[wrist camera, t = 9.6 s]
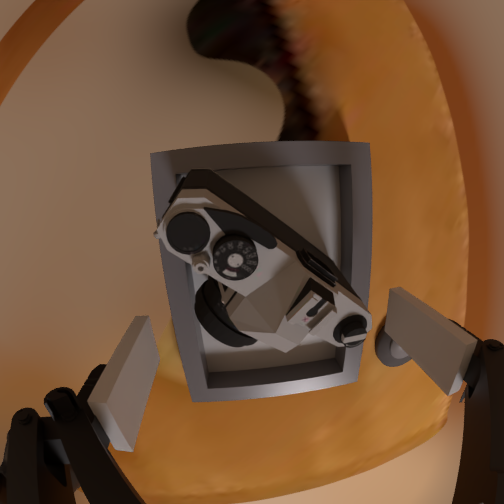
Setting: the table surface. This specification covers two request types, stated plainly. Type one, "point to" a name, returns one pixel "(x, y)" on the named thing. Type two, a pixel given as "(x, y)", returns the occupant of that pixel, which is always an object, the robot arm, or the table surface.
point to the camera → (257, 270)
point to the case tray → (302, 221)
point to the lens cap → (389, 350)
